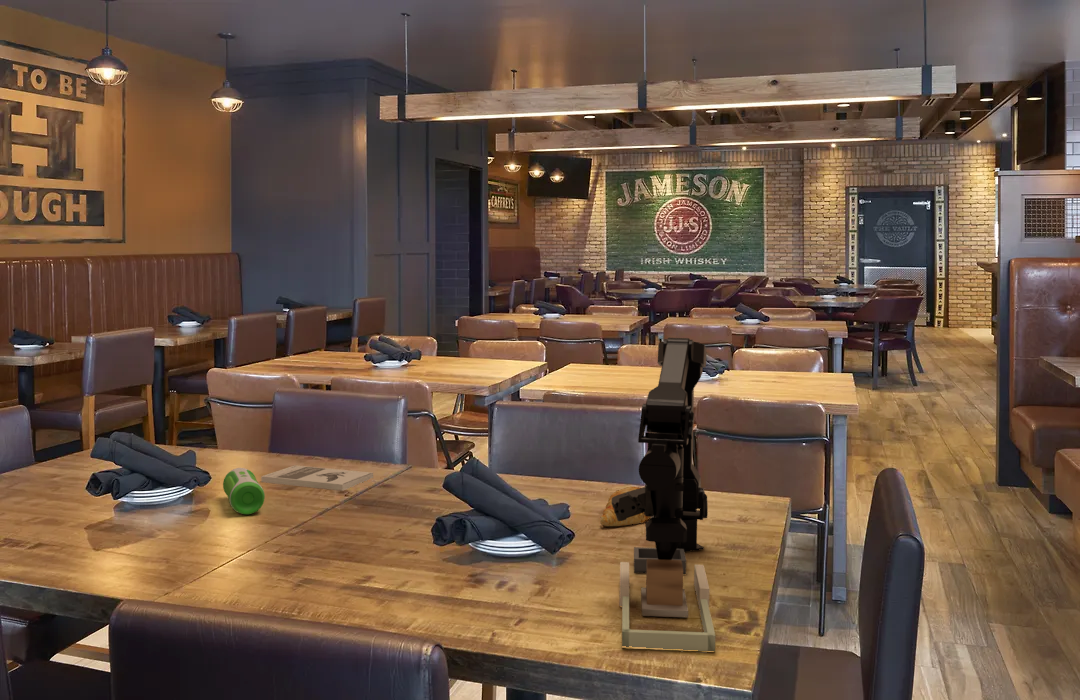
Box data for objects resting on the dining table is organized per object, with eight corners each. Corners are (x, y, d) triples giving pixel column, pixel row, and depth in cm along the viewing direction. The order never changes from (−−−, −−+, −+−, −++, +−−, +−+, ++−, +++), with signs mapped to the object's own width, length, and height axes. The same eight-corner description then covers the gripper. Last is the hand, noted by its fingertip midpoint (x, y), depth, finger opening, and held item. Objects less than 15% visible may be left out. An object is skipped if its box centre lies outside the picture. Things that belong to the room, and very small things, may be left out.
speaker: (266, 515, 207) (265, 480, 206) (230, 519, 204) (230, 483, 203) (255, 496, 223) (254, 464, 222) (222, 499, 220) (221, 466, 219)
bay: (622, 611, 152) (622, 596, 151) (706, 615, 151) (706, 599, 150) (621, 649, 137) (622, 631, 137) (715, 652, 136) (715, 635, 136)
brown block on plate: (641, 593, 159) (641, 554, 159) (684, 594, 159) (685, 556, 158) (642, 615, 149) (642, 574, 149) (688, 617, 149) (689, 576, 148)
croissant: (614, 548, 196) (631, 517, 193) (577, 519, 201) (593, 488, 198) (663, 523, 214) (679, 494, 211) (628, 496, 218) (643, 467, 215)
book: (261, 484, 237) (261, 476, 237) (295, 472, 250) (294, 465, 249) (342, 492, 228) (342, 484, 228) (373, 480, 241) (373, 472, 241)
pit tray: (633, 560, 177) (634, 547, 177) (683, 562, 177) (683, 548, 176) (634, 572, 170) (634, 559, 170) (685, 574, 170) (686, 560, 169)
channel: (619, 581, 166) (620, 561, 165) (703, 584, 164) (703, 564, 164) (619, 607, 154) (619, 585, 153) (708, 610, 152) (709, 588, 152)
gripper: (615, 461, 166) (614, 551, 168) (614, 487, 148) (612, 587, 149) (681, 463, 165) (679, 553, 167) (688, 489, 147) (685, 589, 148)
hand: (663, 569), depth 158 cm, fingers closed
